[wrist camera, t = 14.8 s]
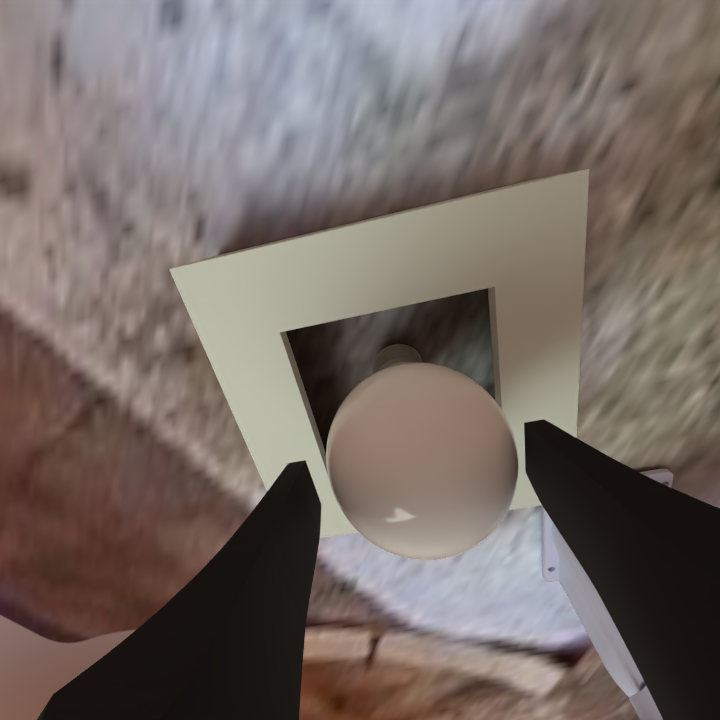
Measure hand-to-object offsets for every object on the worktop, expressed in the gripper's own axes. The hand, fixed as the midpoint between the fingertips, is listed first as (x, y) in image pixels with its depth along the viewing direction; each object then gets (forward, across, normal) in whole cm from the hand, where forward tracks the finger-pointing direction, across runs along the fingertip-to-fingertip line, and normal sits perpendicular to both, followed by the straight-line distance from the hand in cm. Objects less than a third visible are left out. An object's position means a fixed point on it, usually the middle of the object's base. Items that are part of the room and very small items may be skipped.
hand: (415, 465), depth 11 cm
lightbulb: (+9, 0, 0) cm, 9 cm away
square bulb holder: (+8, 0, 0) cm, 9 cm away
